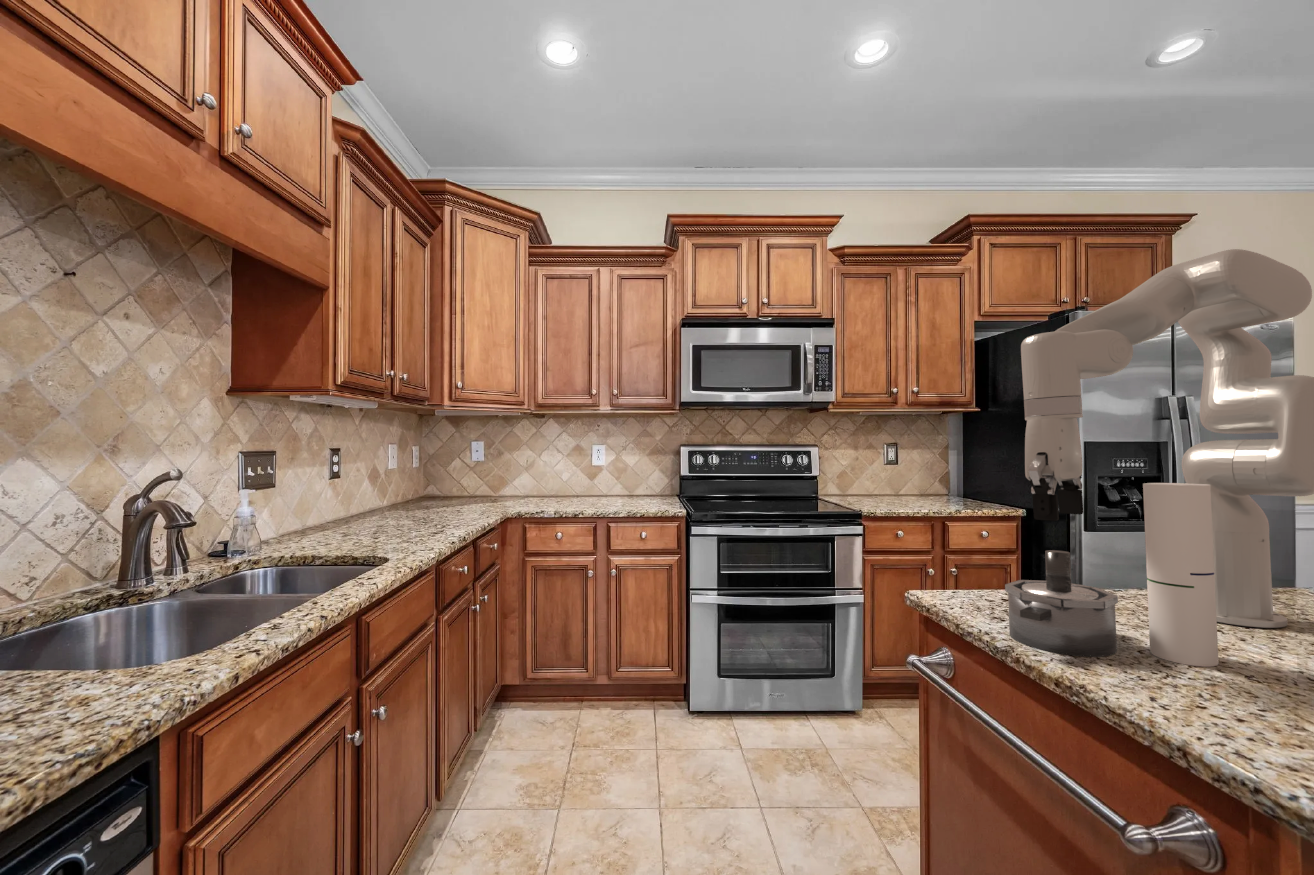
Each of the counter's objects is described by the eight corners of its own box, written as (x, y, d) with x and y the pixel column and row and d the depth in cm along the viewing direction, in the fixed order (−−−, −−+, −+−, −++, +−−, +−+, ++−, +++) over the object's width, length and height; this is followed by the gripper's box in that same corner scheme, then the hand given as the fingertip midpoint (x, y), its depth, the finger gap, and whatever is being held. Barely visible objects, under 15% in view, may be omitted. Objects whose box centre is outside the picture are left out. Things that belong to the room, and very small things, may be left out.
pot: (1040, 618, 98) (1038, 573, 98) (1138, 639, 87) (1136, 588, 87) (982, 642, 86) (980, 591, 86) (1087, 670, 75) (1085, 611, 75)
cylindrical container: (1233, 668, 75) (1224, 485, 76) (1172, 664, 76) (1164, 485, 77) (1193, 649, 82) (1185, 483, 83) (1138, 647, 83) (1131, 483, 84)
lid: (1037, 586, 93) (1035, 545, 94) (1108, 598, 85) (1106, 553, 85) (1010, 594, 88) (1009, 551, 88) (1084, 608, 80) (1082, 560, 80)
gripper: (1048, 412, 95) (1054, 510, 95) (1002, 411, 86) (1008, 520, 85) (1101, 408, 89) (1107, 513, 89) (1057, 407, 79) (1065, 525, 79)
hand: (1059, 516), depth 87 cm, fingers open, 9 cm apart
